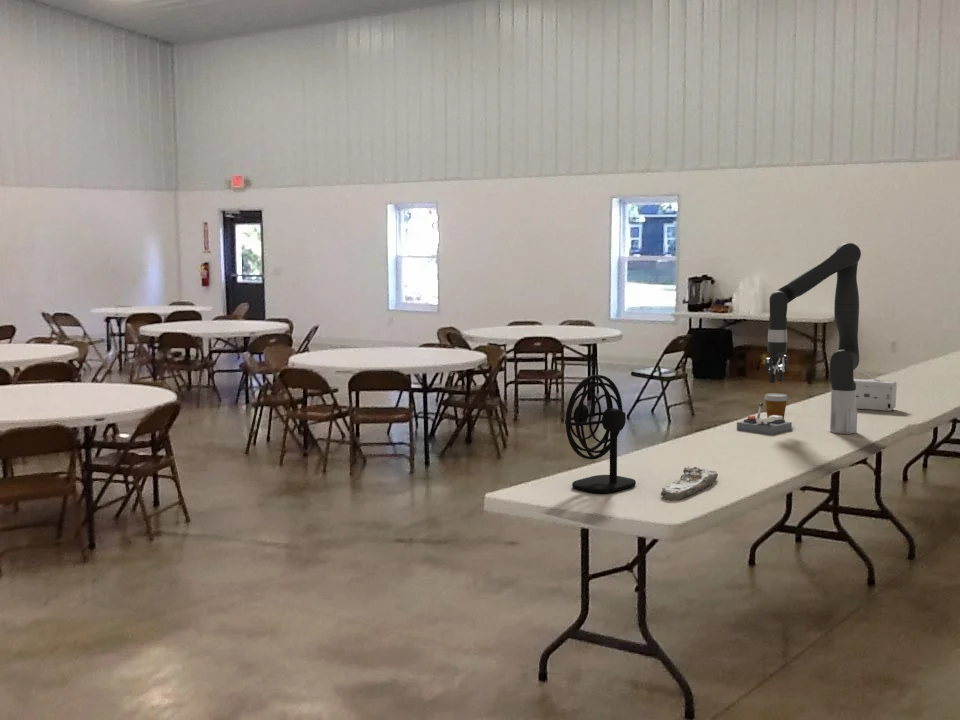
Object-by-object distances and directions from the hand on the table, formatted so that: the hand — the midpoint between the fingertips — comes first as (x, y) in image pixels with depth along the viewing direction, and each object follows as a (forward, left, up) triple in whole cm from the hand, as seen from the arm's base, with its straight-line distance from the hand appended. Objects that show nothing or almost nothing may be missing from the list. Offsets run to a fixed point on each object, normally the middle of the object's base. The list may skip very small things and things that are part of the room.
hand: (776, 381), depth 413 cm
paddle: (0, 0, -15) cm, 15 cm away
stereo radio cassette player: (-3, -76, -20) cm, 78 cm away
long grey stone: (-35, +107, -20) cm, 115 cm away
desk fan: (-14, +124, -20) cm, 127 cm away
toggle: (+9, -2, -16) cm, 19 cm away
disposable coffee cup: (+8, -14, -20) cm, 25 cm away
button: (+7, +7, -15) cm, 18 cm away
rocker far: (0, +7, -15) cm, 17 cm away
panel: (+3, +3, -20) cm, 20 cm away
